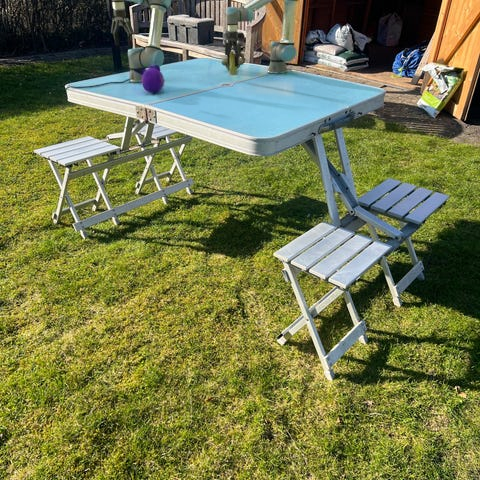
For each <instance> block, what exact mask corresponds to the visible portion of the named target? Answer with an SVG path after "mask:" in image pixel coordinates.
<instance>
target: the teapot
mask: <svg viewBox="0 0 480 480" xmlns="http://www.w3.org/2000/svg"><path fill="white" fill-rule="evenodd" d="M231 54H235V52H234V50H231ZM240 58H241V60H239V62H238V66H237V70H239V68H240V67H241V66H243V65H244V64H245V62H246V59H245V54H244V53H243V52H241V56H239V59H240ZM221 65H222V66H225V68H226V70H227V71H229V72H230V66H228V60H227V57H224V58H222V60H221Z"/></svg>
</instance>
